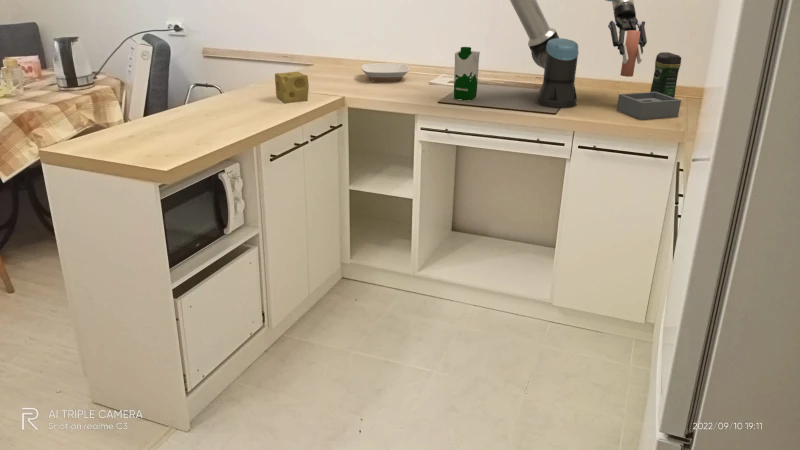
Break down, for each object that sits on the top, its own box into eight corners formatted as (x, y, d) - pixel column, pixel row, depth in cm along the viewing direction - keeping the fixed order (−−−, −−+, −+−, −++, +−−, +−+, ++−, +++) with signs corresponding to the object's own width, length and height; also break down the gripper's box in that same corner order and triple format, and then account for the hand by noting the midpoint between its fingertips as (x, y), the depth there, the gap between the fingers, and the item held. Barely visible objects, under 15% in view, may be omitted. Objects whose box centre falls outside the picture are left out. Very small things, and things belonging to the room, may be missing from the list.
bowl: (359, 74, 294) (359, 63, 292) (406, 74, 297) (406, 62, 294) (362, 84, 275) (362, 72, 273) (412, 83, 277) (412, 71, 275)
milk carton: (450, 99, 250) (452, 47, 242) (458, 95, 257) (461, 44, 249) (471, 102, 247) (474, 49, 238) (479, 97, 254) (482, 46, 246)
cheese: (283, 104, 242) (282, 77, 238) (275, 98, 251) (273, 72, 247) (309, 101, 246) (308, 75, 242) (300, 95, 255) (298, 70, 251)
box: (640, 119, 224) (643, 103, 222) (616, 110, 236) (618, 94, 234) (677, 116, 229) (681, 100, 226) (652, 107, 241) (655, 91, 238)
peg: (625, 76, 235) (632, 32, 228) (617, 74, 239) (624, 30, 232) (635, 76, 236) (643, 31, 230) (628, 74, 240) (635, 30, 234)
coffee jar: (677, 103, 247) (686, 54, 239) (657, 104, 246) (666, 55, 238) (664, 98, 255) (672, 50, 248) (645, 98, 254) (653, 51, 247)
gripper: (642, 16, 244) (652, 67, 236) (597, 15, 243) (605, 67, 235) (650, 2, 237) (661, 55, 229) (604, 2, 236) (613, 55, 228)
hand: (633, 61), depth 232 cm, fingers closed on peg, 4 cm apart
